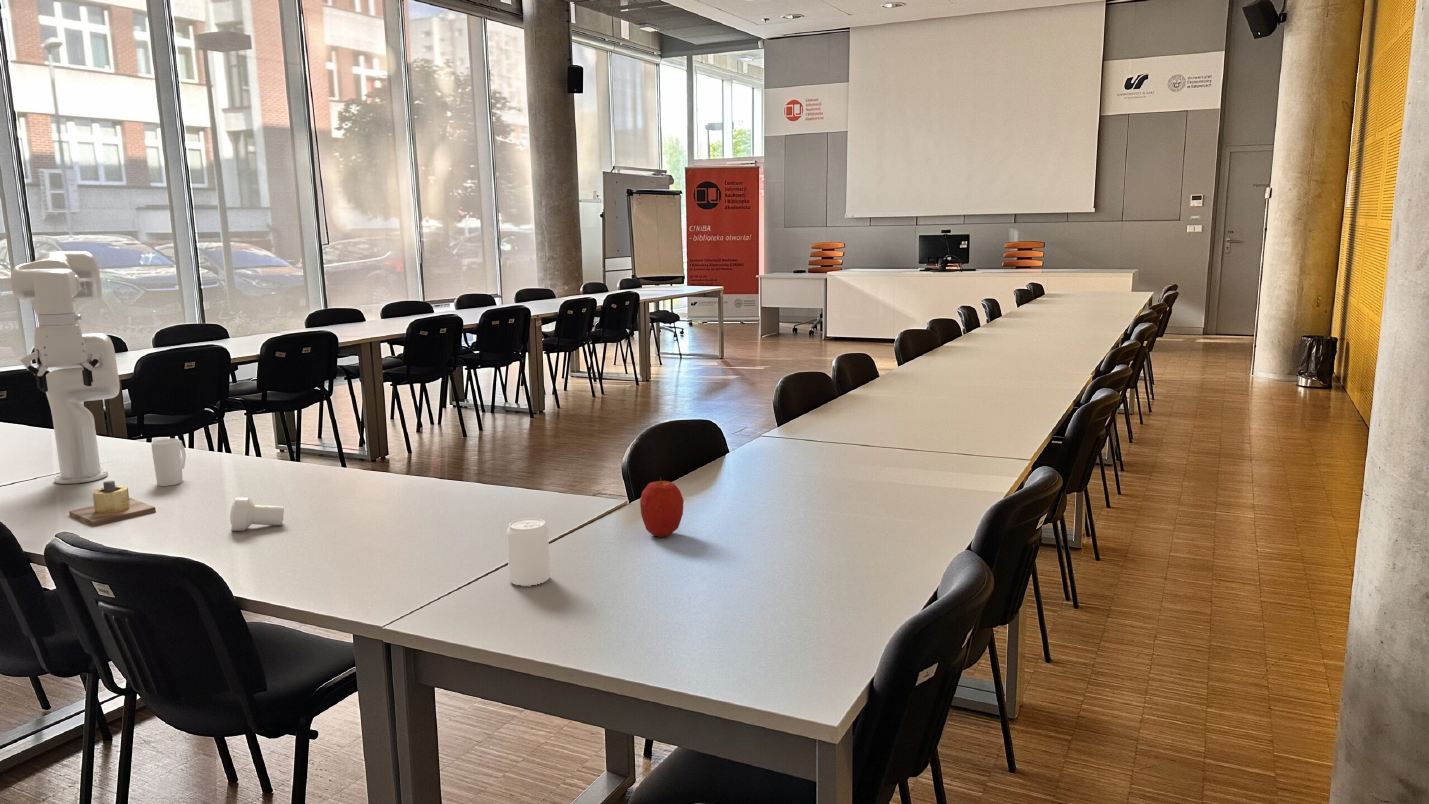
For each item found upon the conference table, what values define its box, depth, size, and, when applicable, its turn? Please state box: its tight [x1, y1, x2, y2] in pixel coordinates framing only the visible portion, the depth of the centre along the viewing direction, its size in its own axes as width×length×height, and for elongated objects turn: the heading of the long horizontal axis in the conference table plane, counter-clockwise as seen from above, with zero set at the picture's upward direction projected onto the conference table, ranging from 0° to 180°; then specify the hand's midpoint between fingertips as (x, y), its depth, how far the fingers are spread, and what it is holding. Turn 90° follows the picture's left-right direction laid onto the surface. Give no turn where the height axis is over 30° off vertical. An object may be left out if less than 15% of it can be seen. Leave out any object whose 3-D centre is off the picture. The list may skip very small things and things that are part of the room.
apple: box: [639, 476, 685, 538], centre depth 212 cm, size 10×10×14 cm
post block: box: [68, 480, 157, 527], centre depth 230 cm, size 14×14×8 cm
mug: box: [150, 438, 187, 487], centre depth 259 cm, size 10×7×12 cm, turn 169°
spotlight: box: [229, 495, 285, 532], centre depth 219 cm, size 8×11×8 cm
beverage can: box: [506, 517, 551, 587], centre depth 185 cm, size 8×8×12 cm
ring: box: [92, 485, 130, 514], centre depth 230 cm, size 7×7×5 cm
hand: (66, 388), depth 234 cm, fingers open, 9 cm apart
